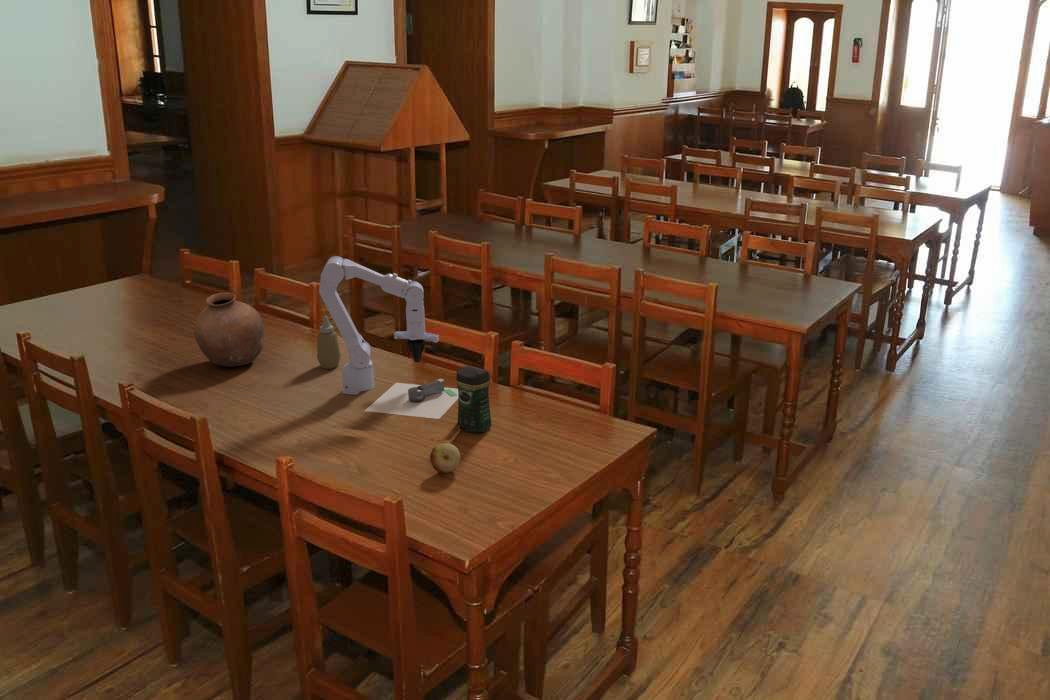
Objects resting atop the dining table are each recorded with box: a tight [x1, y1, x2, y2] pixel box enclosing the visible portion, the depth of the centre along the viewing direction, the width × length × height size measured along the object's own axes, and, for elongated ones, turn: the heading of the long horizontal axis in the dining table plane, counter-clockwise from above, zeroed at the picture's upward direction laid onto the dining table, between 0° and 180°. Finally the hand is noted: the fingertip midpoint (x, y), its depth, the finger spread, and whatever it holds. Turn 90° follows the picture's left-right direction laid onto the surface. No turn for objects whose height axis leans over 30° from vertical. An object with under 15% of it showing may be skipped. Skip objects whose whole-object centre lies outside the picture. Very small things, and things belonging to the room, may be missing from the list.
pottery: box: [193, 292, 265, 368], centre depth 327 cm, size 23×23×25 cm
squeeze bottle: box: [316, 315, 342, 370], centre depth 324 cm, size 8×8×18 cm
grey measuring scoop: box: [408, 378, 445, 402], centre depth 296 cm, size 12×5×4 cm, turn 130°
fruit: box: [429, 442, 461, 474], centre depth 250 cm, size 8×8×8 cm
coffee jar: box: [455, 364, 492, 434], centre depth 275 cm, size 10×8×19 cm
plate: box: [364, 382, 458, 420], centre depth 294 cm, size 24×24×2 cm
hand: (417, 361), depth 304 cm, fingers closed
